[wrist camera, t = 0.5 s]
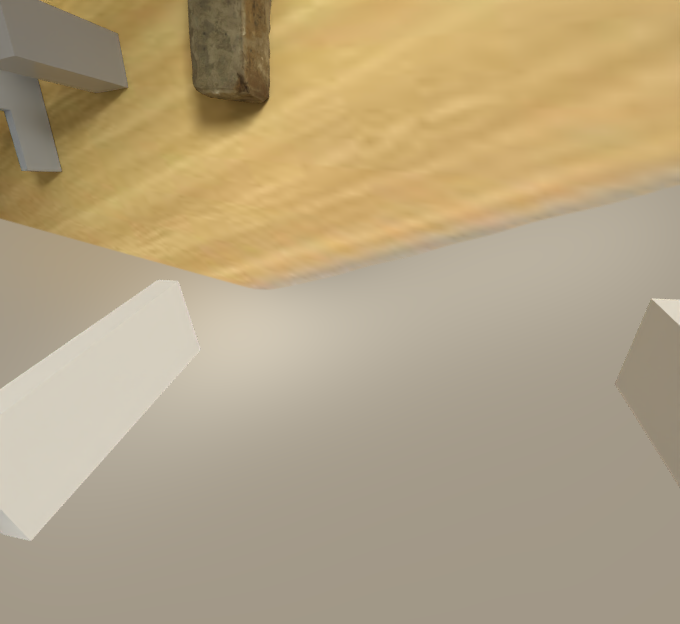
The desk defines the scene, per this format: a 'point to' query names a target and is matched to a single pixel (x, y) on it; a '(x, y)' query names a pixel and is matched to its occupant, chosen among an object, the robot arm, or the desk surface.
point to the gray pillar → (59, 47)
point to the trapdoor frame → (28, 122)
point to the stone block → (230, 48)
